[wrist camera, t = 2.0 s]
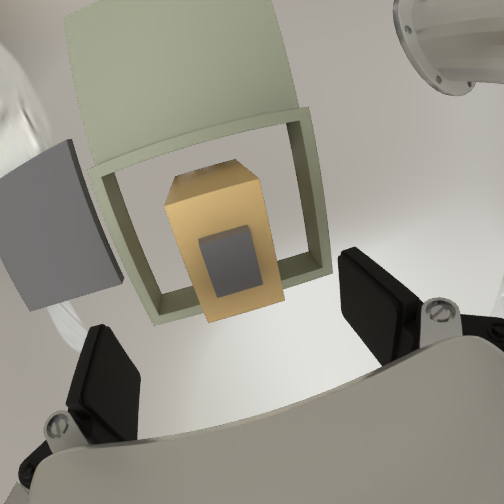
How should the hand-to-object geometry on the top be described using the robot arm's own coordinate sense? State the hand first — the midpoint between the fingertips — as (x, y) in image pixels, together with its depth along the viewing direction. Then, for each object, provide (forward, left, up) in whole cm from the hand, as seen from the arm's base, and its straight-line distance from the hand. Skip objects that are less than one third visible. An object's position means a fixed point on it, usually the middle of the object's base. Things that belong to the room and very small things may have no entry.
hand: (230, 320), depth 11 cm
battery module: (-1, 0, -12) cm, 12 cm away
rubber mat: (+14, -3, -12) cm, 19 cm away
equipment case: (-1, -6, -12) cm, 14 cm away
